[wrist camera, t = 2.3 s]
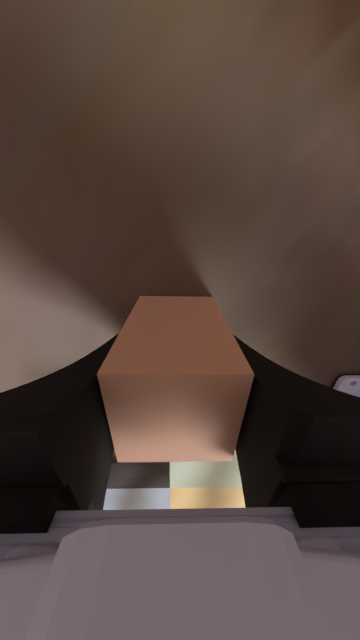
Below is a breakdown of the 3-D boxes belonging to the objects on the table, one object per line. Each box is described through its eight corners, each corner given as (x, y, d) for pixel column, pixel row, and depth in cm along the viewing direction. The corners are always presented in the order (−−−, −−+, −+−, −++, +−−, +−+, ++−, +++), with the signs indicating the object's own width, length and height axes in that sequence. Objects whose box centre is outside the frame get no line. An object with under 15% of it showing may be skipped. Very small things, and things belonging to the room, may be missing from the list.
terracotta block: (212, 296, 12) (254, 374, 5) (206, 355, 14) (231, 461, 7) (139, 295, 12) (96, 373, 5) (144, 355, 14) (117, 462, 7)
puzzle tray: (290, 399, 16) (317, 441, 13) (248, 504, 25) (258, 543, 22) (80, 400, 16) (56, 443, 12) (113, 506, 24) (104, 547, 21)
